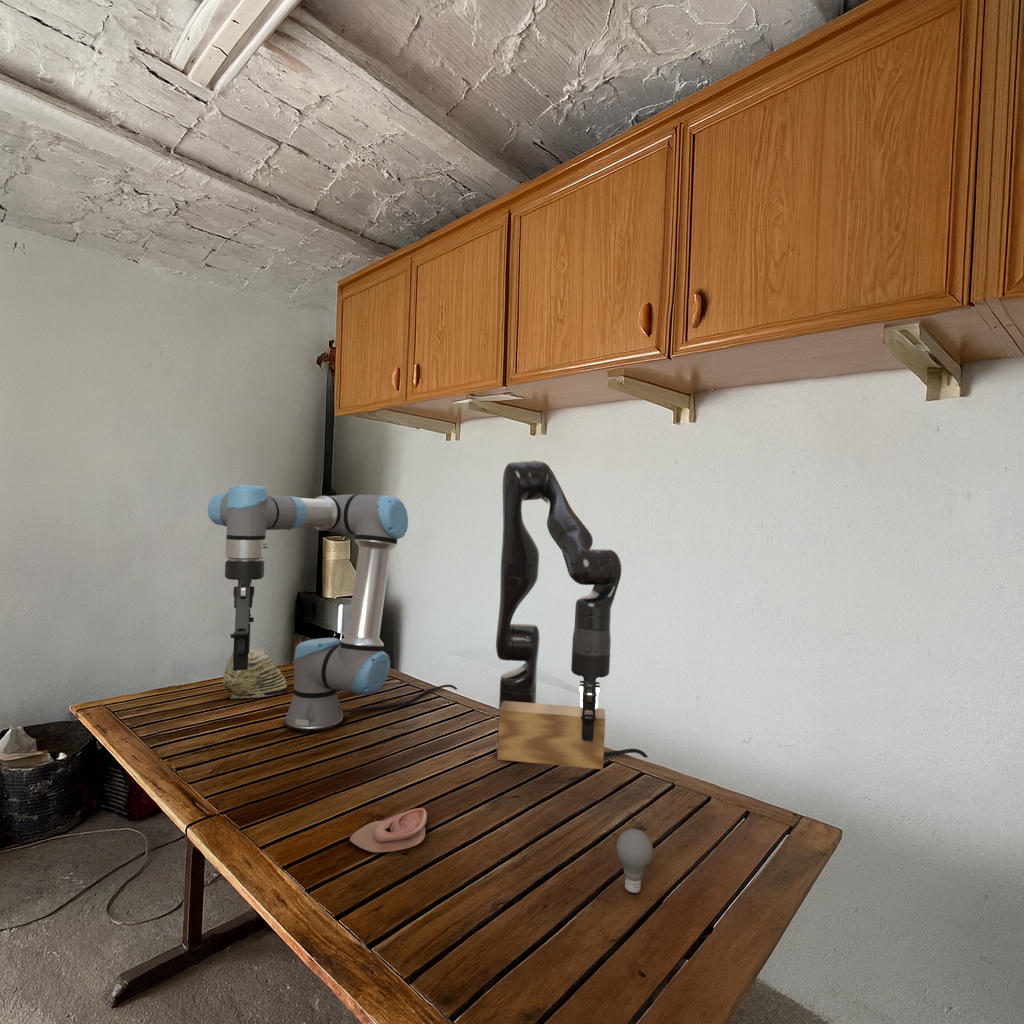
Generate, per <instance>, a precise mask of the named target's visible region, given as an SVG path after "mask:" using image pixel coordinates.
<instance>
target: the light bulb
mask: <svg viewBox="0 0 1024 1024" xmlns="http://www.w3.org/2000/svg"><path fill="white" fill-rule="evenodd" d="M615 849H616V854H617V857H618V859H619V861H620V863H621V865H622V867H623V873H624V874H623V875H624V876H625V878H624V888H625V890H627V891H628V892H630V893H634V894H635V893H639V892H640V891H641V889H642V887H641V886H642V879H643V877H644V875H645V871H646V868H647V867H648V866H649V864H650V863H651V861H652V859H653V855H654V847H653V843H652V841H651V838H649V836H648V835H647V834H646V833H645V832H643V831H642V830H641V829H636V828H629V829H627V830H625V831H623V832H622V833H621V834H620V835H619V837H618V839H617V841H616V847H615Z"/></svg>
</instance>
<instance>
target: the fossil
mask: <svg viewBox="0 0 1024 1024" xmlns="http://www.w3.org/2000/svg"><path fill="white" fill-rule="evenodd" d="M222 676H223V677H222V685H223V687H224V688H225V690H226V691H228V693H229V698H230V699H250V698H264V697H271V696H275V695H281V694H284V693H285V691H286V689H287V687H288V686H287V680H286V678H285V676H284V674H283V673H282V672H281V669H279V668H278V667H277V665H276V663H275V662H274V660H273V659H272V658H271V657H270V656H269V655H268V654H267V653H266V652H265V650H264V649H263V648H260V647H258V648H250V649H249V653H248V670H235V671H233V652H232V653H231V656H230V657H229V659H228V660H227V663H226V666H225V668H224V671H223V675H222Z"/></svg>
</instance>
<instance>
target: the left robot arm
mask: <svg viewBox="0 0 1024 1024" xmlns="http://www.w3.org/2000/svg"><path fill="white" fill-rule="evenodd" d="M207 515H208V518H209V519H210V521H211V522H212V523H214V524H215V525H218V526H223V527H226V536H225V537H226V538H225V549H224V550H225V551H224V553H225V554H224V556H225V558H226V559H227V560H226V561H225V563H224V564H225V565H224V577H225V579H227V580H232V581H236V580H237V586H234V587H233V598H234V599H233V608H234V609H235V617H234V632H233V633H230V637H229V638H230V639H233V651H232V653H233V671H235V670H248V653H249V649H251V647H250V644H251V623H254V621H255V620H254V619H255V618H254V617H253V616H252V614H251V609H252V608H253V601H254V597H255V586H252V583H253V581H256V580H261V579H263V578H265V577H264V576H265V562H264V560H262V559H264V558H265V551H266V550H265V549H268V548H269V545H268V543H265V542H266V536H267V535H266V533H267V531H269V530H271V531H277V530H282V531H283V530H284V531H285V530H286V531H291V530H295V529H299V528H310V527H311V528H314V529H316V530H318V531H322V532H323V531H325V532H326V531H327V532H333V533H339V534H344V535H351V536H354V543H355V544H356V545H357V547H358V553H357V560H356V569H355V575H354V583H353V590H352V596H351V597H352V598H351V604H350V612H349V619H348V627H347V634H346V635H345V636H344V637H343V638H342V639H341V640H339V638H337V637H321V638H313V639H307V640H304V641H302V642H299V643H298V644H297V645H296V647H295V652H294V653H295V654H294V657H293V660H294V661H293V662H294V668H293V669H294V670H293V695H292V696H293V697H292V699H291V702H290V704H289V708H288V711H287V713H286V715H285V726H286V728H287V729H289V730H291V731H294V732H295V731H296V732H301V733H316V732H325V731H329V730H332V729H335V728H337V727H339V726H340V725H342V723H343V722H344V713H351V712H353V713H354V712H361V711H371V710H379V709H386V708H392V707H398V706H402V705H406V704H407V705H408V704H410V703H412V702H413V701H415V700H418V699H419V698H420V697H423V696H424V695H425V694H427V693H429V692H433V691H437V690H440V689H445V688H452V689H454V690H458V687H456V686H455V685H453V684H442V685H438V686H436V687H432V688H428V689H426V690H424V691H422V692H421V693H418V694H417V695H415V696H414V697H412V698H411V699H408V700H405V701H402V702H401V701H400V702H396V703H390V704H385V705H376V706H374V705H373V706H367V707H356V708H355V707H354V708H348V709H346V708H345V709H342V706H341V702H340V699H339V695H338V691H340V692H347V693H352V694H355V695H358V696H359V695H366V696H370V695H374V694H376V693H377V692H379V691H380V690H381V689H382V687H383V685H384V684H385V683H386V681H387V679H388V676H389V674H390V670H391V660H390V656H389V654H388V653H386V652H385V651H384V649H385V647H384V646H385V645H384V642H383V640H382V639H380V634H381V628H382V627H381V626H382V618H383V610H384V605H385V604H384V603H385V595H386V589H387V581H388V573H389V566H390V565H389V564H390V559H391V558H390V556H391V551H392V550H394V549H395V548H396V547H397V545H398V540H400V539H402V538H403V537H404V536H405V535H406V533H407V531H408V528H409V514H408V511H407V508H406V506H405V504H404V502H403V501H402V500H401V499H400V498H398V497H397V496H392V495H385V494H357V493H351V494H350V493H349V494H338V495H320V496H319V495H318V496H317V497H315V498H308V497H297V496H292V495H271V494H268V489H267V487H265V485H264V486H263V485H245V484H244V485H242V484H241V485H240V484H235V485H231V486H230V487H229V488H228V492H224V493H221V492H220V493H217V494H215V495H213V496H212V497H211V499H210V500H209V502H208V504H207ZM252 580H253V581H252Z"/></svg>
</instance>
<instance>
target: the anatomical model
mask: <svg viewBox="0 0 1024 1024" xmlns="http://www.w3.org/2000/svg"><path fill="white" fill-rule="evenodd" d="M427 814H428V813H427V811H426V809H425V808H424V807H417V808H412V809H409V810H406V811H403V812H401V813H397V814H396V815H393V816H390V817H388V818H386V819H384V820H377V821H373V822H370V823H368V824H365V825H364V826H362V827H360V828H359V829H358V830H355V832H353V834H351V835H350V837H349V841H350V842H351V843H352V844H353V845H355V846H356V847H358V848H360V849H362V850H365V851H366V852H370V853H386V852H387V853H388V852H389V853H390V852H396V851H403V850H406V849H409V848H412V847H415V846H417V845H419V844H421V843H422V842H423V841H424V840H425V837H426V827H425V826H426V824H427V820H428V819H427V817H428V815H427Z"/></svg>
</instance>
